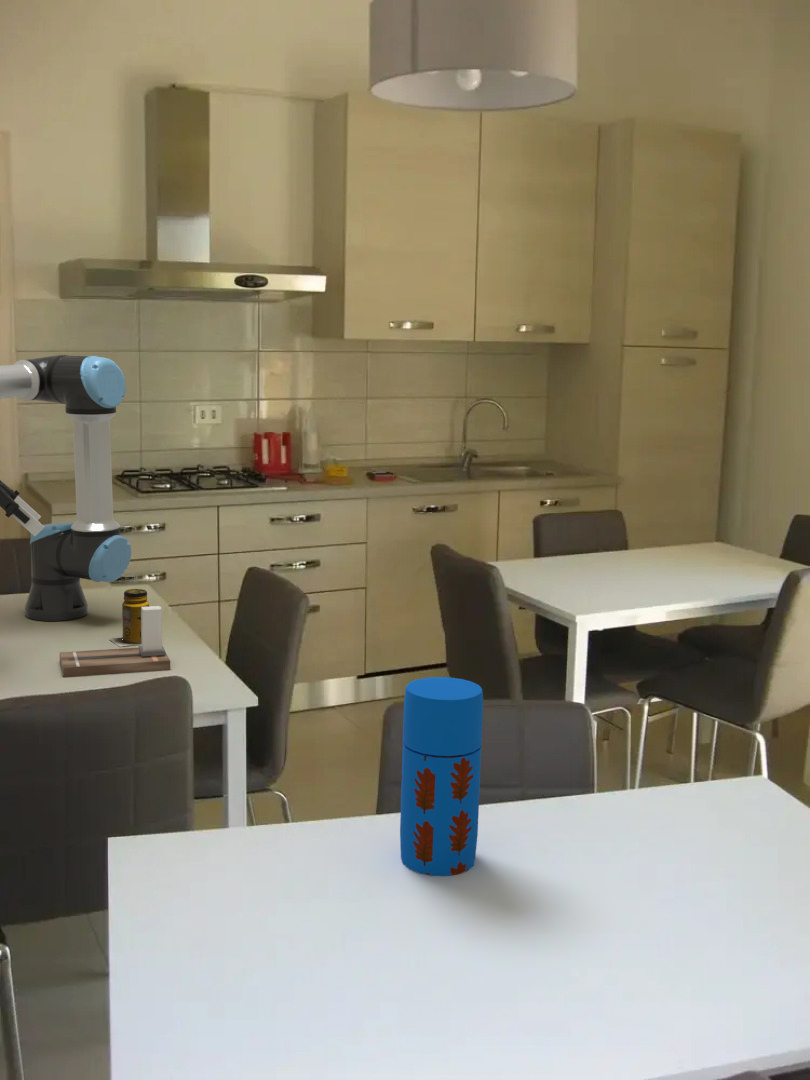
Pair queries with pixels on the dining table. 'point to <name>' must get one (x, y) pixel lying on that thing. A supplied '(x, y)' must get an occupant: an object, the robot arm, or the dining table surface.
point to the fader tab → (151, 631)
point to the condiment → (132, 617)
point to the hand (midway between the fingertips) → (38, 526)
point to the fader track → (110, 662)
